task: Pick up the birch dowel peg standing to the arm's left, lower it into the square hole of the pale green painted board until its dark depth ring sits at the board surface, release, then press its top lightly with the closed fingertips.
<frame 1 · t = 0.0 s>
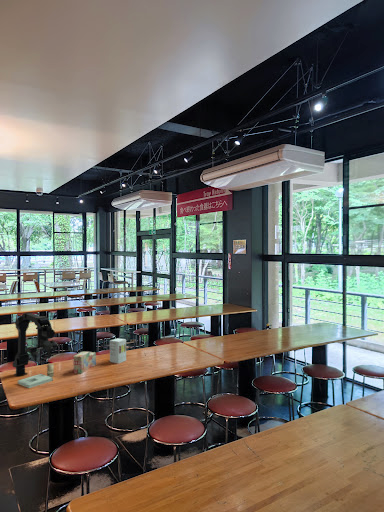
hand: (42, 360, 225), 15 cm above the table, fingers open, 9 cm apart
board: (35, 382, 227), on the table
peg: (50, 376, 238), on the table
supplement box: (118, 361, 271), on the table
stack of blocks: (85, 369, 253), on the table
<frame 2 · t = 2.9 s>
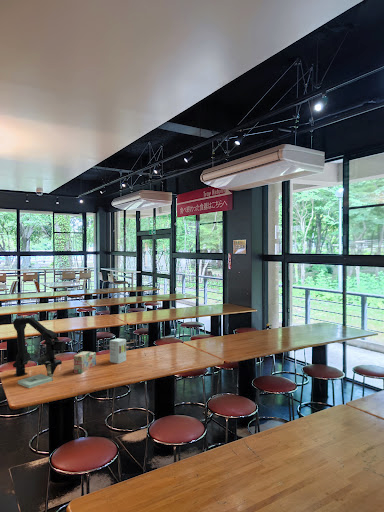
hand: (50, 373, 238), 2 cm above the table, fingers closed on peg, 4 cm apart
peg: (50, 376, 238), on the table, touching gripper
everything else where it was.
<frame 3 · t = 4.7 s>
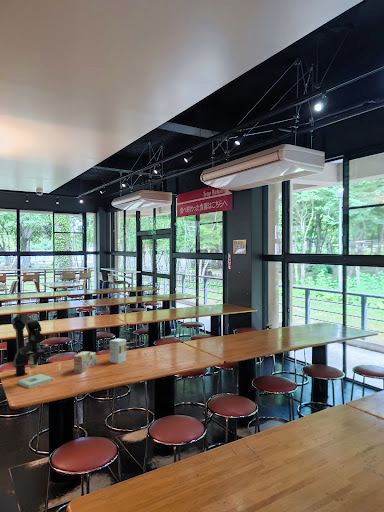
hand: (33, 364, 226), 12 cm above the table, fingers closed on peg, 4 cm apart
peg: (33, 367, 226), point 10 cm above the table, touching gripper
everything else where it was.
when the fingers open (2 cm above the table, at t = 6.8 s): peg stays where it is, resting in board.
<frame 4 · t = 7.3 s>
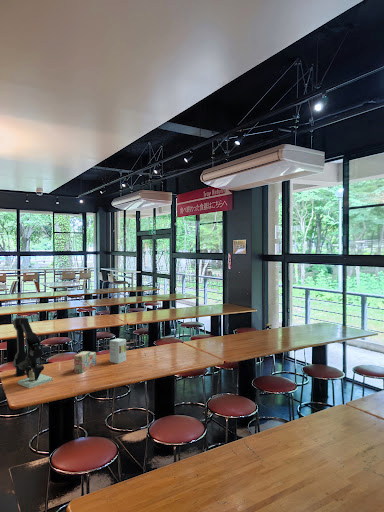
hand: (32, 379, 225), 2 cm above the table, fingers open, 9 cm apart
peg: (32, 383, 225), resting in board
everything else where it was.
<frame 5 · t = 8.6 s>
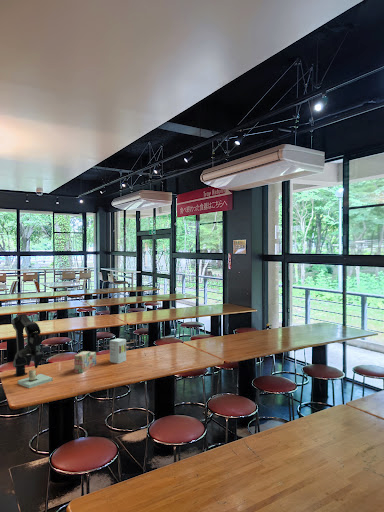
hand: (32, 366, 225), 10 cm above the table, fingers open, 9 cm apart
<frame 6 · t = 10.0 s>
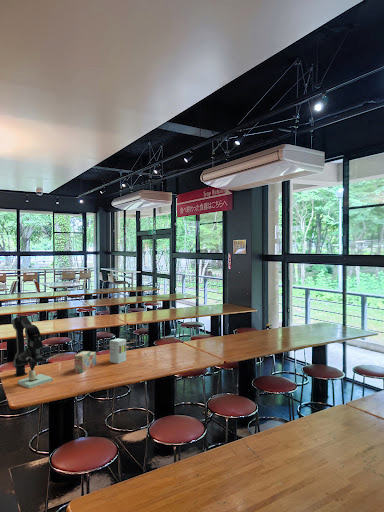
hand: (32, 370, 225), 8 cm above the table, fingers closed
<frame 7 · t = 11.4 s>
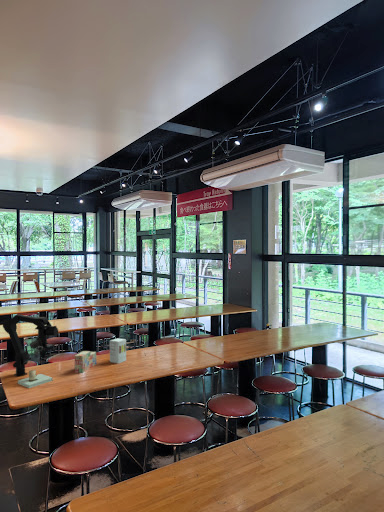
hand: (42, 358, 240), 12 cm above the table, fingers closed
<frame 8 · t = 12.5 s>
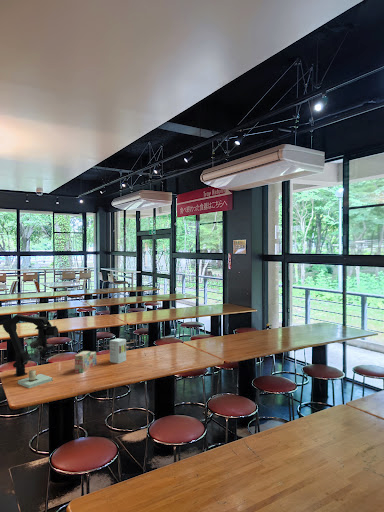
hand: (42, 358, 240), 12 cm above the table, fingers closed
at the end: peg 0.0 cm from the target spot on the board, point 0.0 cm above the board's base; peg tilted 0°; the gripper is holding nothing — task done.
